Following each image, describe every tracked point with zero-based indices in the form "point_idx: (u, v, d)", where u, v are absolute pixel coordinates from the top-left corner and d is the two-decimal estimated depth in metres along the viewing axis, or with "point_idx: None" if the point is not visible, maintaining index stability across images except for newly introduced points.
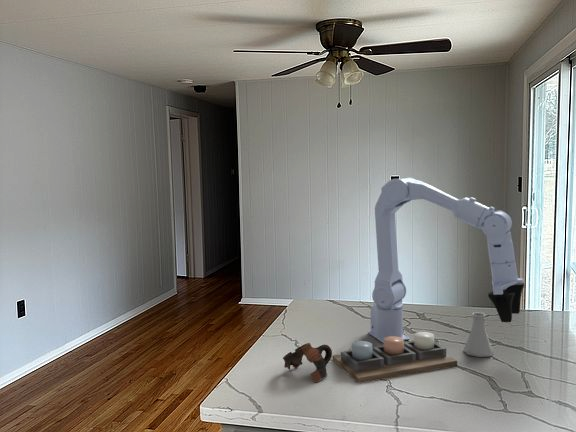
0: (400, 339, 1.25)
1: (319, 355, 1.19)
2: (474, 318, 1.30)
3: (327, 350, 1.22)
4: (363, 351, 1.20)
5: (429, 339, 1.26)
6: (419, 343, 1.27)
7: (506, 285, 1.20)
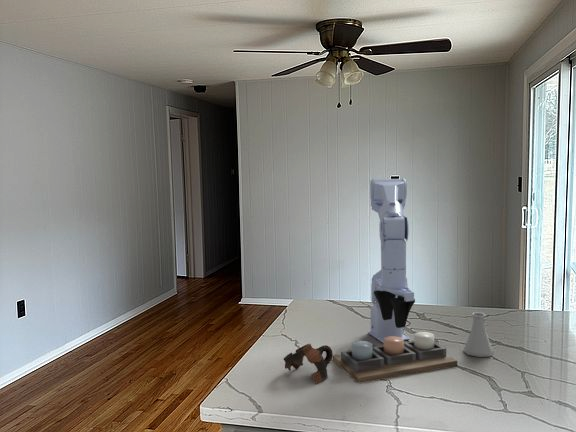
0: (400, 339, 1.25)
1: (320, 356, 1.18)
2: (474, 318, 1.30)
3: (328, 351, 1.22)
4: (363, 351, 1.20)
5: (429, 339, 1.26)
6: (419, 343, 1.27)
7: (378, 283, 1.28)
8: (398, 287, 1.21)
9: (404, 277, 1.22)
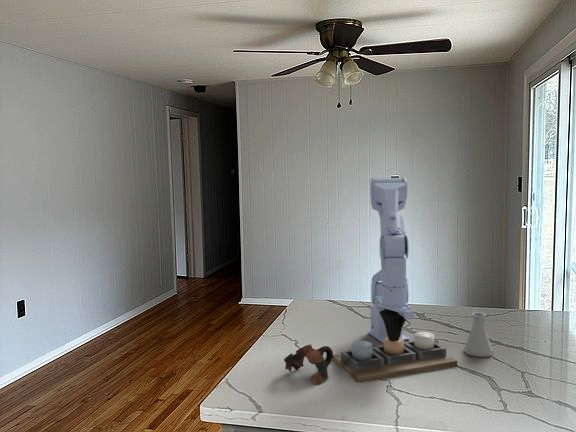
0: (400, 339, 1.25)
1: (320, 357, 1.18)
2: (474, 318, 1.30)
3: (328, 352, 1.21)
4: (363, 351, 1.20)
5: (429, 339, 1.26)
6: (419, 343, 1.27)
7: (378, 300, 1.28)
8: (398, 305, 1.22)
9: (404, 295, 1.22)
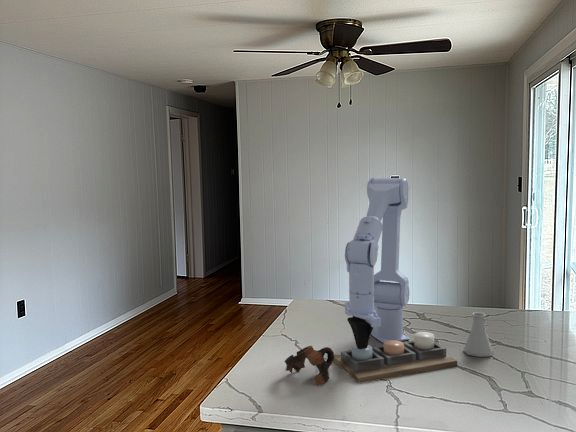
0: (400, 343, 1.26)
1: (321, 358, 1.17)
2: (474, 318, 1.30)
3: (329, 353, 1.21)
4: (363, 354, 1.20)
5: (429, 339, 1.26)
6: (419, 343, 1.27)
7: (347, 306, 1.26)
8: (365, 312, 1.19)
9: (372, 302, 1.20)
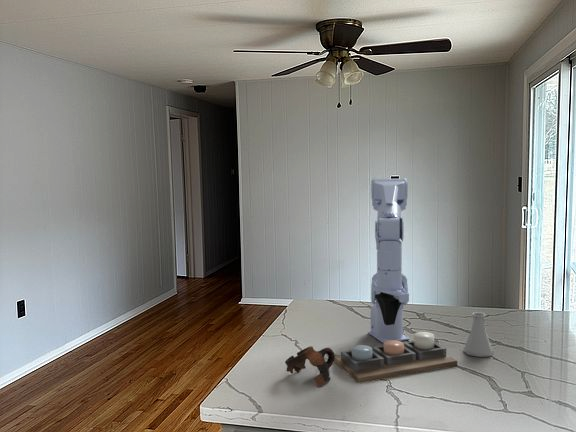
0: (400, 343, 1.26)
1: (322, 359, 1.17)
2: (474, 318, 1.30)
3: (330, 353, 1.20)
4: (363, 355, 1.20)
5: (429, 339, 1.26)
6: (419, 343, 1.27)
7: (374, 283, 1.28)
8: (393, 288, 1.21)
9: (399, 278, 1.21)
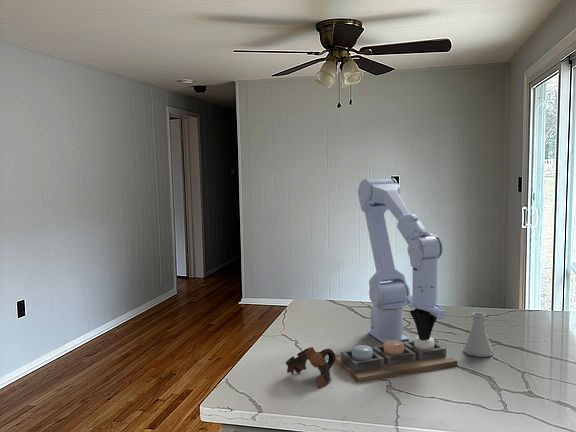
0: (400, 343, 1.26)
1: (323, 359, 1.16)
2: (474, 318, 1.30)
3: (330, 354, 1.20)
4: (363, 355, 1.20)
5: (429, 343, 1.26)
6: (419, 347, 1.27)
7: (408, 300, 1.31)
8: (429, 305, 1.24)
9: (435, 295, 1.25)
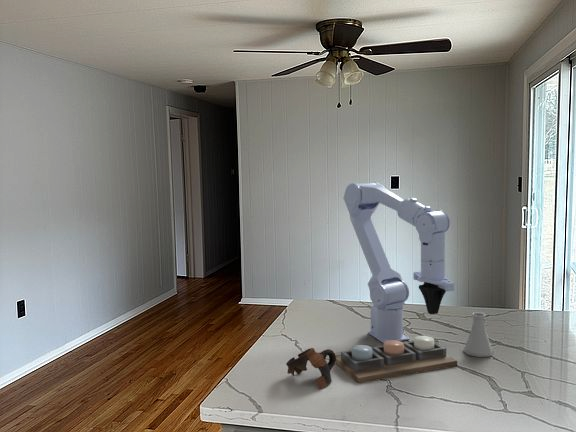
0: (400, 343, 1.26)
1: (324, 360, 1.16)
2: (474, 318, 1.30)
3: (331, 355, 1.19)
4: (363, 355, 1.20)
5: (429, 343, 1.26)
6: (419, 347, 1.27)
7: (416, 275, 1.33)
8: (438, 278, 1.27)
9: (443, 269, 1.27)
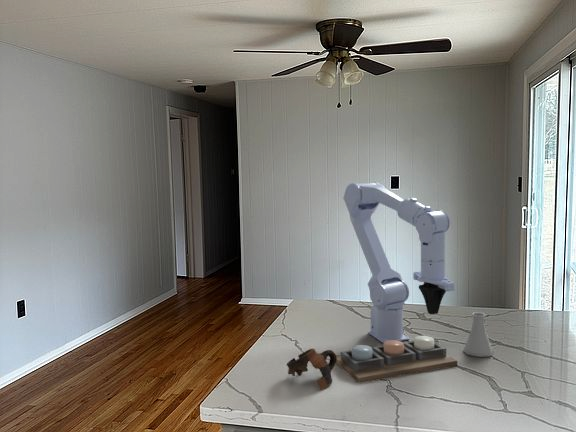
0: (400, 343, 1.26)
1: (324, 361, 1.15)
2: (474, 318, 1.30)
3: (332, 356, 1.19)
4: (363, 355, 1.20)
5: (429, 343, 1.26)
6: (419, 347, 1.27)
7: (416, 275, 1.33)
8: (438, 278, 1.27)
9: (443, 269, 1.27)
